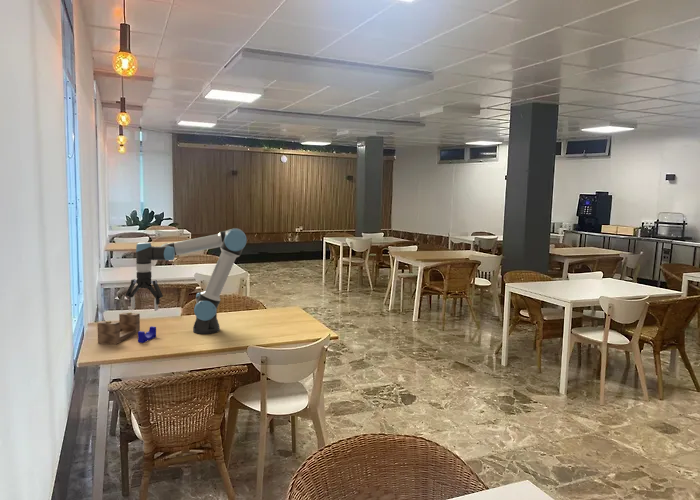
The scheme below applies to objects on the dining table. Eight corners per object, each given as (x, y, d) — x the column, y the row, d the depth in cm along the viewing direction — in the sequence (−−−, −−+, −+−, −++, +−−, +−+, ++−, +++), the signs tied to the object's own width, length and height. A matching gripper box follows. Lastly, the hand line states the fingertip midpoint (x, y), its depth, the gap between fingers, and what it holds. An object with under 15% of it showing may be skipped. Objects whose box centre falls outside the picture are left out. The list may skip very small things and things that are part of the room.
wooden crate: (139, 332, 290) (139, 312, 289) (115, 344, 267) (115, 322, 265) (123, 331, 291) (123, 311, 290) (97, 343, 268) (97, 321, 267)
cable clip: (148, 336, 283) (148, 326, 283) (156, 337, 283) (156, 326, 282) (135, 342, 272) (135, 331, 271) (143, 343, 271) (143, 332, 270)
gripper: (169, 271, 275) (169, 309, 278) (126, 268, 279) (127, 306, 281) (162, 273, 268) (162, 312, 270) (118, 270, 271) (119, 309, 274)
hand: (144, 309), depth 276 cm, fingers open, 13 cm apart
